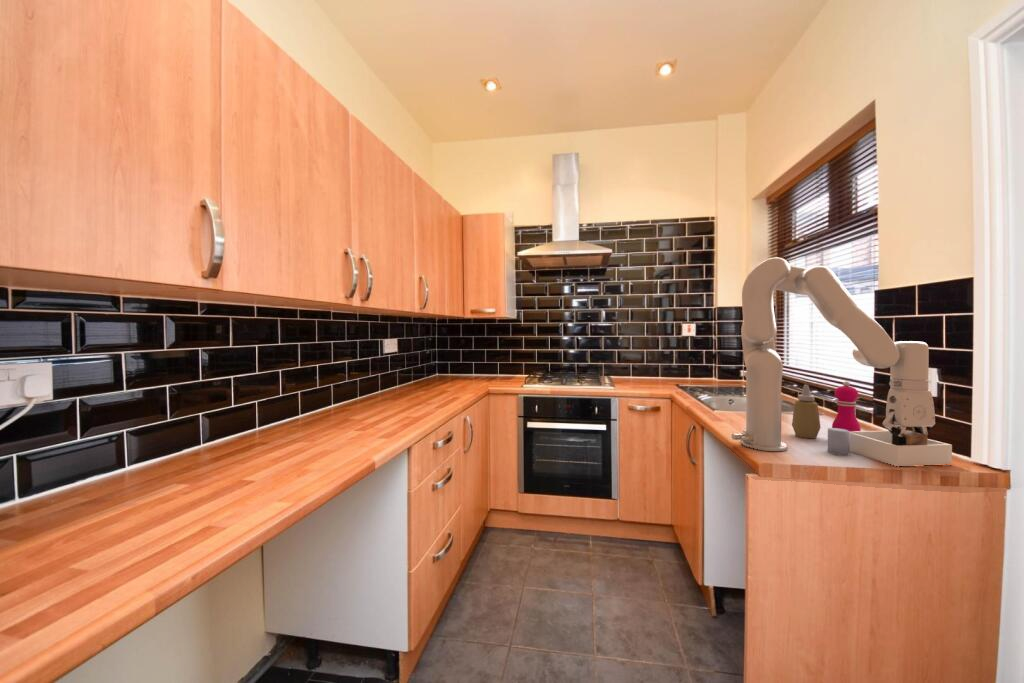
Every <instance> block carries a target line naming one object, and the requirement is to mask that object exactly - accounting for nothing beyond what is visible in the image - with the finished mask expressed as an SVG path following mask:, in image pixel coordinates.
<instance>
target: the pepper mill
mask: <svg viewBox="0 0 1024 683" xmlns="http://www.w3.org/2000/svg"><path fill="white" fill-rule="evenodd" d="M850 385H851V383H850V382H849V381H847V380H846V381H844V382H843V383H842V386H838V387H837V388H835V390H834V397H836V399H837V400H836V405H837V414H836V416H835V417H834V419H833V422H832V424H831V428H839V429H845V430H848V431H849V432H852V431H862V429H861V426H860V423H859V421H858V419H857V417H856V413H855V412H856V411H855V407H856V406H857V401H856V400H857V399H858V398H859V392H858V390H857V389H856V388H855V387H853V386H850Z"/></svg>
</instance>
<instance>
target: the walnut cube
mask: <svg viewBox="0 0 1024 683" xmlns="http://www.w3.org/2000/svg"><path fill="white" fill-rule="evenodd" d="M903 437H906V445H927V439H928V435H926V434H921V433H917V432H913V430H909V429H906V430H905V434H904V436H903Z"/></svg>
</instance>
